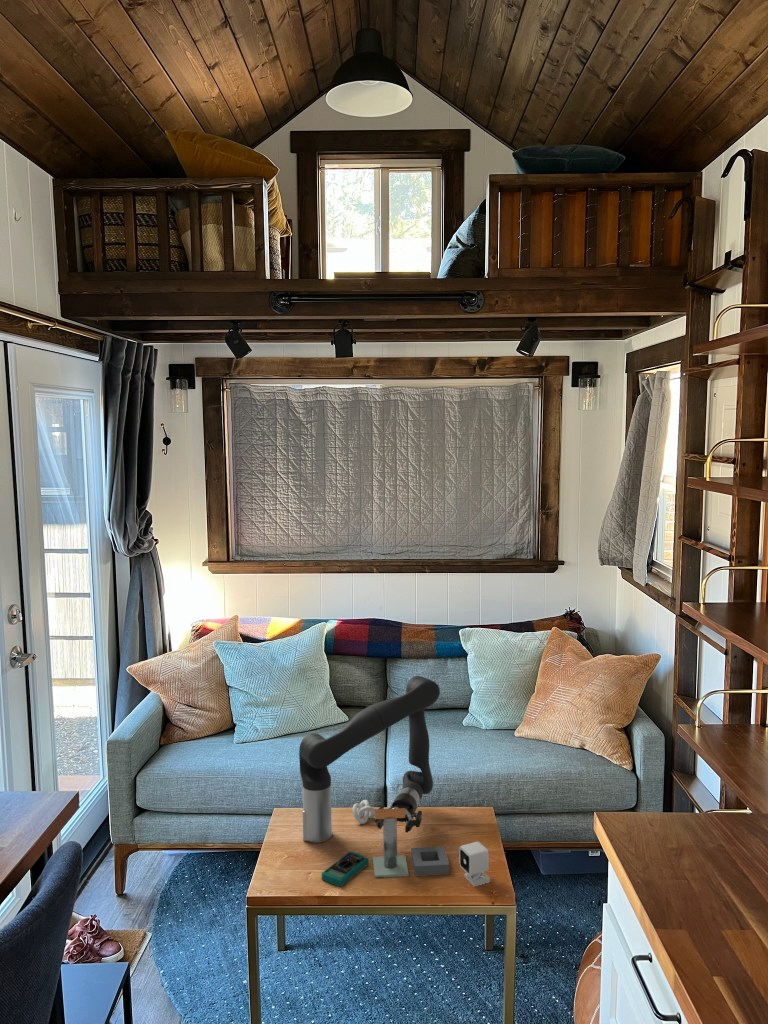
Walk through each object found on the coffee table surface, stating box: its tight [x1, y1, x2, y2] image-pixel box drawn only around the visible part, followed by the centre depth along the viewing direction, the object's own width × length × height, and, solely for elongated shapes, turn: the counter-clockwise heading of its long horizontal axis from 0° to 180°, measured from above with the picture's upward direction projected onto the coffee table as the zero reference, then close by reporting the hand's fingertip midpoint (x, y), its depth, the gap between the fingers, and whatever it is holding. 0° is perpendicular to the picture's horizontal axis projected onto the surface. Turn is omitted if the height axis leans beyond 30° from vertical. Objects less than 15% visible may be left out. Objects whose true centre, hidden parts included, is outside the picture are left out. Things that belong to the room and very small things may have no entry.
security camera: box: [458, 841, 491, 888], centre depth 218 cm, size 6×7×10 cm
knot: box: [352, 799, 375, 825], centre depth 254 cm, size 8×8×6 cm
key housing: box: [410, 846, 450, 877], centre depth 226 cm, size 10×10×3 cm
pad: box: [372, 855, 410, 879], centre depth 225 cm, size 10×10×1 cm
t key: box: [374, 808, 405, 869], centre depth 225 cm, size 9×4×17 cm, turn 95°
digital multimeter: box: [321, 851, 369, 887], centre depth 223 cm, size 7×15×3 cm, turn 147°
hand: (392, 827), depth 228 cm, fingers open, 8 cm apart
